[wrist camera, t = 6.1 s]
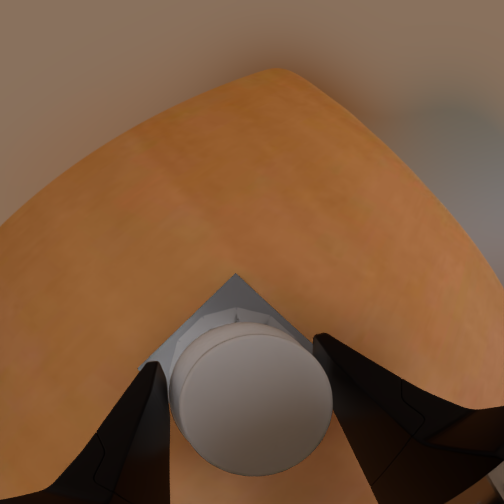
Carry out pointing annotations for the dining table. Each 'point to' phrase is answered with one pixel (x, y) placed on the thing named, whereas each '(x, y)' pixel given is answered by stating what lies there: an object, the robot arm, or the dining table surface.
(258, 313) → the holder
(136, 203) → the dining table surface
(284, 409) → the supplement bottle
